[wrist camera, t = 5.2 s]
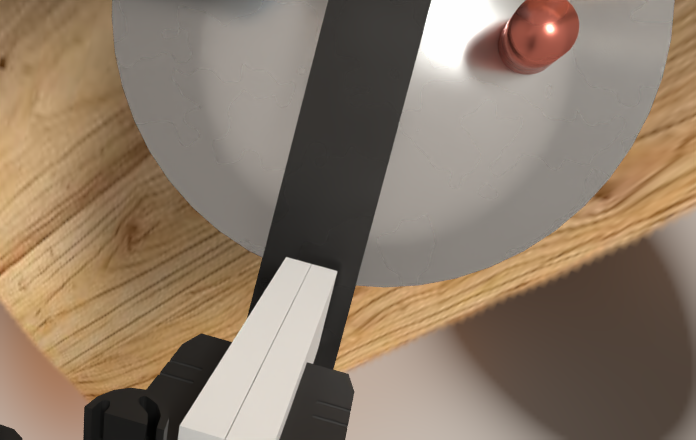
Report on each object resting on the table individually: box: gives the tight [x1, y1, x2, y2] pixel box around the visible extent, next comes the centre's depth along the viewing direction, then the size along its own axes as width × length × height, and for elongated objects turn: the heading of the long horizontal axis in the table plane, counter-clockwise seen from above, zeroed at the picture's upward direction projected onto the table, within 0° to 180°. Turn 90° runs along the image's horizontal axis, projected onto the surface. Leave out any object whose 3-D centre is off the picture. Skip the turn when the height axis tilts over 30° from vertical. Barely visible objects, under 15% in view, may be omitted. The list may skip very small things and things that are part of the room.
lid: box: [112, 0, 675, 370], centre depth 16 cm, size 19×26×3 cm
